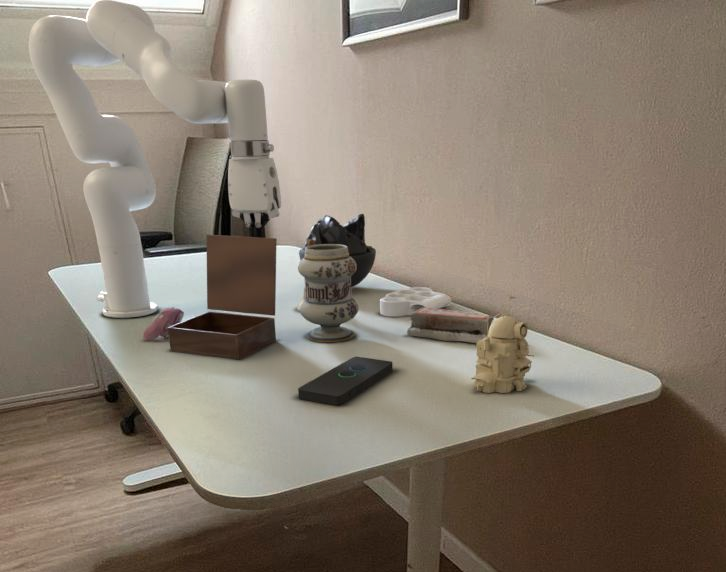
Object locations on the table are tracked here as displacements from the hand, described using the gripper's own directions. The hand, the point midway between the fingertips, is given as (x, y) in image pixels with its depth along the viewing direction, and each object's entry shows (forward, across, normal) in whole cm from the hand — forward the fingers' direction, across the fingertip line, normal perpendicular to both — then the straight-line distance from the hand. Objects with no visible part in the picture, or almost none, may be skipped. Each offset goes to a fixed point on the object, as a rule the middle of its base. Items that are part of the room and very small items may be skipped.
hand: (258, 246), depth 150 cm
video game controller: (+17, +15, +15) cm, 27 cm away
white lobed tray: (+17, -26, -25) cm, 40 cm away
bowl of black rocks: (+17, 0, -39) cm, 43 cm away
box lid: (+4, -1, +9) cm, 10 cm away
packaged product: (+17, -42, -7) cm, 46 cm away
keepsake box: (+17, 0, +17) cm, 24 cm away
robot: (+18, -58, +21) cm, 65 cm away
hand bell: (+17, -4, -17) cm, 24 cm away
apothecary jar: (+17, -18, +3) cm, 25 cm away
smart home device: (+17, -34, +29) cm, 48 cm away
